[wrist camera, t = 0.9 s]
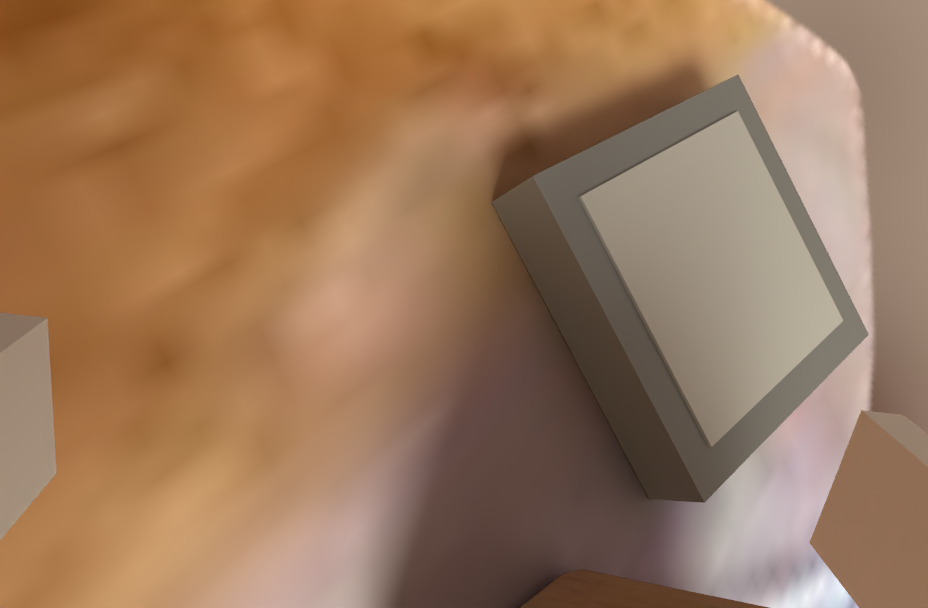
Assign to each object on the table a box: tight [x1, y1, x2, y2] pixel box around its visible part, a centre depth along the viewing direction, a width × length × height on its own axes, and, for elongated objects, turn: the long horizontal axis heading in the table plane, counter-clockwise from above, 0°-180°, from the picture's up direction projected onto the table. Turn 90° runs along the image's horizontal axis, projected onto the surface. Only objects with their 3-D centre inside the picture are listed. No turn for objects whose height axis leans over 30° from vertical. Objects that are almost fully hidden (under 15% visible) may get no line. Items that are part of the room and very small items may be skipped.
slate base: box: [492, 75, 869, 502], centre depth 31 cm, size 14×14×3 cm
